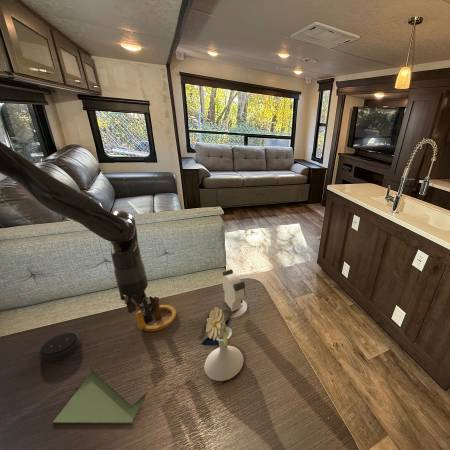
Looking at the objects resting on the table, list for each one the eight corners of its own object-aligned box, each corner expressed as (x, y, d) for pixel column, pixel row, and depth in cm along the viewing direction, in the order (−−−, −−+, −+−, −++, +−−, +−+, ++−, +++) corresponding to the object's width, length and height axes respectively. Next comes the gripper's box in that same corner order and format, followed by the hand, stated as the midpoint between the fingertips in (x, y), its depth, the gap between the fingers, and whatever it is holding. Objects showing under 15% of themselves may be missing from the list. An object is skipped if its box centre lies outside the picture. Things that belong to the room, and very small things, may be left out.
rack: (140, 324, 87) (135, 299, 83) (161, 310, 94) (157, 286, 89) (155, 334, 84) (150, 308, 80) (176, 319, 91) (172, 294, 86)
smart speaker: (40, 351, 75) (36, 342, 73) (79, 335, 81) (75, 326, 79) (44, 371, 69) (39, 362, 68) (84, 352, 76) (81, 343, 74)
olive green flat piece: (53, 423, 59) (52, 422, 59) (92, 371, 71) (92, 370, 70) (131, 423, 60) (131, 422, 60) (157, 372, 72) (157, 371, 72)
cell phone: (230, 314, 95) (230, 313, 95) (222, 345, 82) (222, 343, 82) (211, 314, 94) (211, 312, 94) (200, 345, 82) (200, 343, 81)
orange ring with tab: (129, 324, 85) (125, 306, 82) (162, 303, 95) (159, 287, 92) (150, 338, 81) (147, 320, 78) (182, 315, 91) (180, 298, 88)
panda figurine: (253, 311, 98) (254, 279, 92) (226, 323, 90) (225, 290, 85) (238, 295, 106) (239, 265, 100) (213, 305, 99) (211, 273, 93)
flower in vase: (206, 353, 79) (201, 290, 69) (242, 347, 82) (242, 287, 72) (202, 394, 68) (194, 326, 58) (244, 386, 71) (244, 320, 61)
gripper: (104, 274, 75) (115, 315, 81) (133, 290, 69) (142, 333, 75) (129, 263, 81) (138, 301, 87) (158, 277, 75) (165, 318, 82)
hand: (140, 316), depth 81 cm, fingers open, 8 cm apart
